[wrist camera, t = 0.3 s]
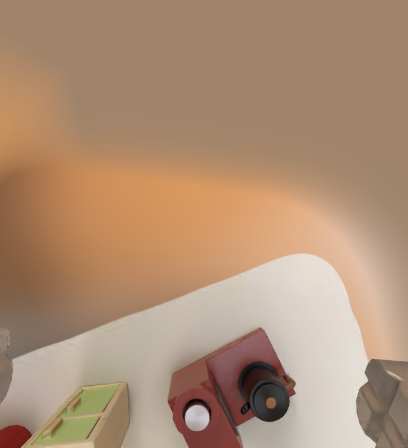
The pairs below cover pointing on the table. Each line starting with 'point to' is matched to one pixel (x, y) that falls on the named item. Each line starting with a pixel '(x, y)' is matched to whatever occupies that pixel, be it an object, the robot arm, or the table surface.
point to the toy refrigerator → (87, 420)
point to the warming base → (241, 371)
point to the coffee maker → (205, 391)
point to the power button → (196, 415)
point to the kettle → (266, 393)
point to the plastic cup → (14, 436)
